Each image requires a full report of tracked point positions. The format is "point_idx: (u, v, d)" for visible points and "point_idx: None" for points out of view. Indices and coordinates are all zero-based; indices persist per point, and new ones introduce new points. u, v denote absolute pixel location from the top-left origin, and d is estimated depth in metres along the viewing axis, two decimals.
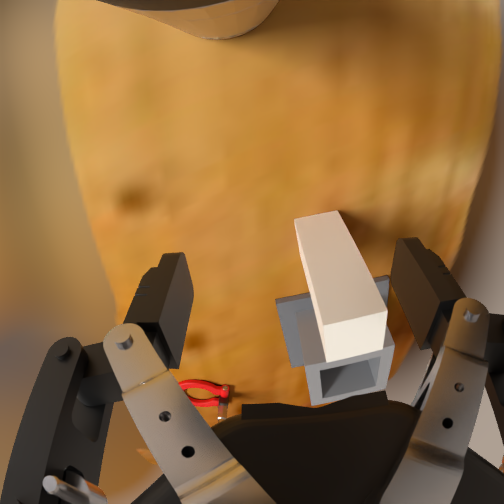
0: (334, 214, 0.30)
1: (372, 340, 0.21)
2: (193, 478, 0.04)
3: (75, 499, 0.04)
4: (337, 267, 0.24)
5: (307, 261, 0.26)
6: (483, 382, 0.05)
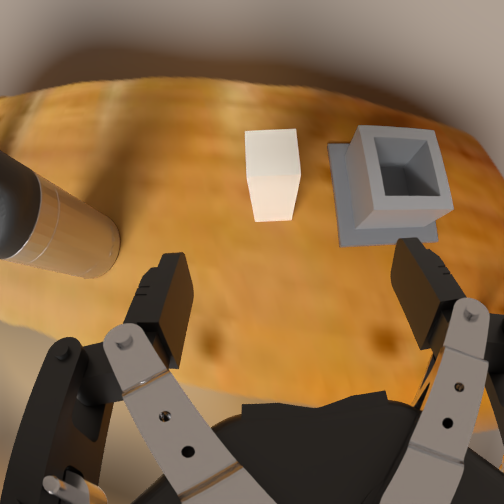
0: None
1: (279, 138, 0.26)
2: (193, 478, 0.04)
3: (74, 499, 0.04)
4: None
5: None
6: (482, 382, 0.05)
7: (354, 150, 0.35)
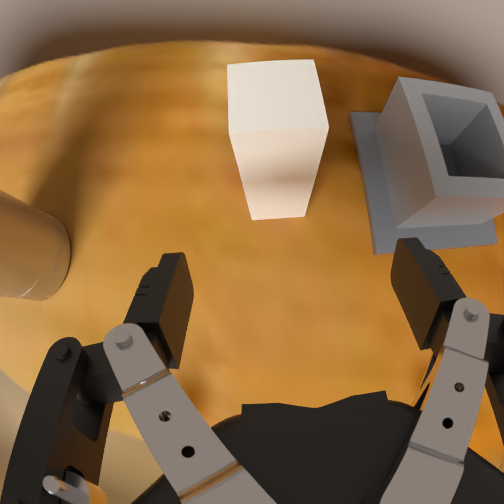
0: None
1: (287, 72, 0.14)
2: (193, 478, 0.04)
3: (75, 499, 0.04)
4: None
5: None
6: (482, 383, 0.05)
7: (392, 115, 0.22)
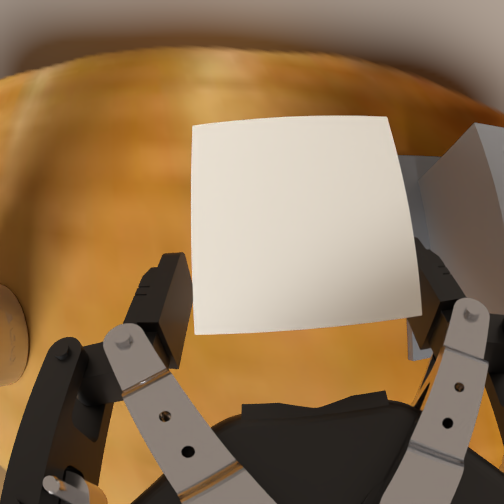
0: None
1: (333, 152, 0.06)
2: (193, 478, 0.04)
3: (75, 499, 0.04)
4: None
5: None
6: (482, 383, 0.05)
7: (455, 175, 0.15)
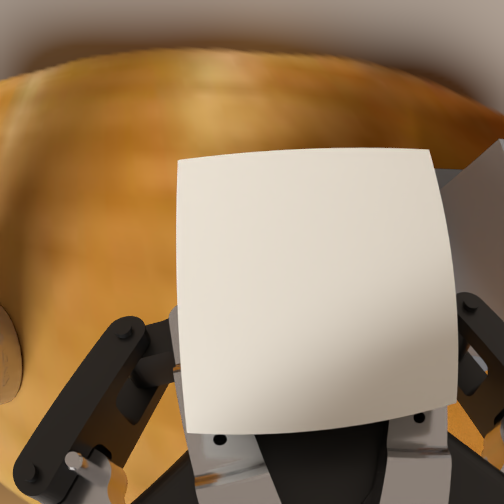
0: None
1: (363, 200, 0.05)
2: (215, 466, 0.04)
3: (94, 478, 0.05)
4: None
5: None
6: None
7: (475, 194, 0.13)
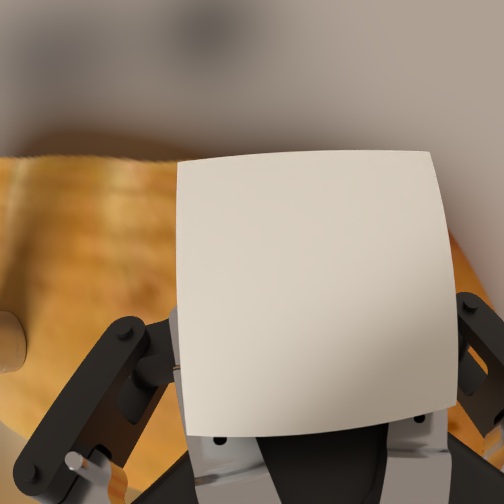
0: None
1: (364, 203, 0.05)
2: (216, 466, 0.04)
3: (94, 478, 0.05)
4: None
5: None
6: None
7: None
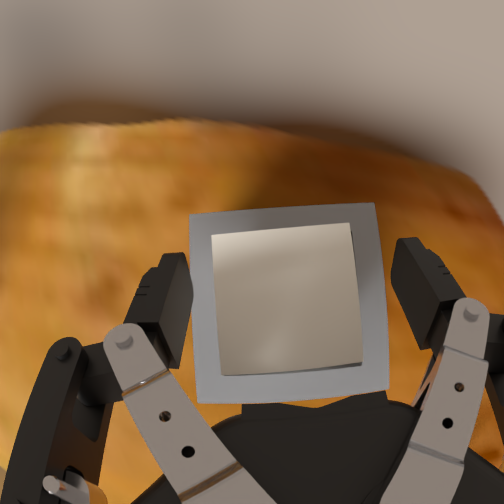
0: None
1: (307, 255, 0.10)
2: (193, 478, 0.04)
3: (75, 499, 0.04)
4: None
5: None
6: (483, 382, 0.05)
7: None
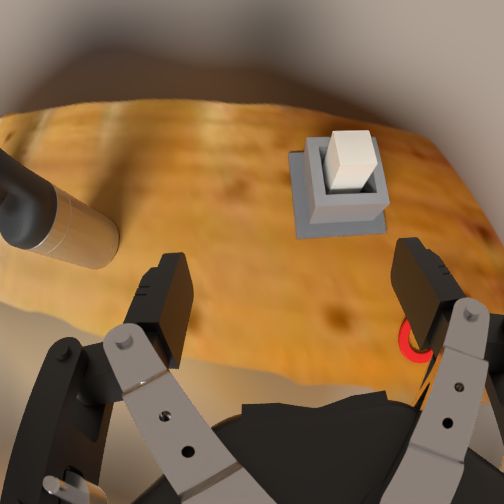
0: None
1: (359, 137, 0.34)
2: (193, 478, 0.04)
3: (75, 499, 0.04)
4: (329, 167, 0.39)
5: (330, 187, 0.40)
6: (483, 382, 0.05)
7: (305, 158, 0.43)
